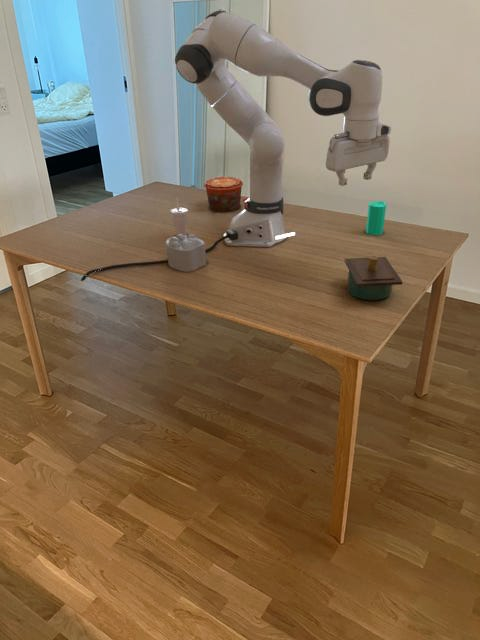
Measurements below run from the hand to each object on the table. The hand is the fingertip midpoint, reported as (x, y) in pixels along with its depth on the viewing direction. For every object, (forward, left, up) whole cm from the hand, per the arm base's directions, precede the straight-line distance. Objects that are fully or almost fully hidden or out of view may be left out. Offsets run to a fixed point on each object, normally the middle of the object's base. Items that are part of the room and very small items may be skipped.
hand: (355, 182), depth 137 cm
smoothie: (-54, +35, -28) cm, 70 cm away
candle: (+16, +30, -28) cm, 44 cm away
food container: (-38, +65, -28) cm, 80 cm away
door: (+3, -14, -21) cm, 26 cm away
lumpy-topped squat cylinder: (-51, +11, -28) cm, 59 cm away
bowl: (+3, -14, -27) cm, 31 cm away
